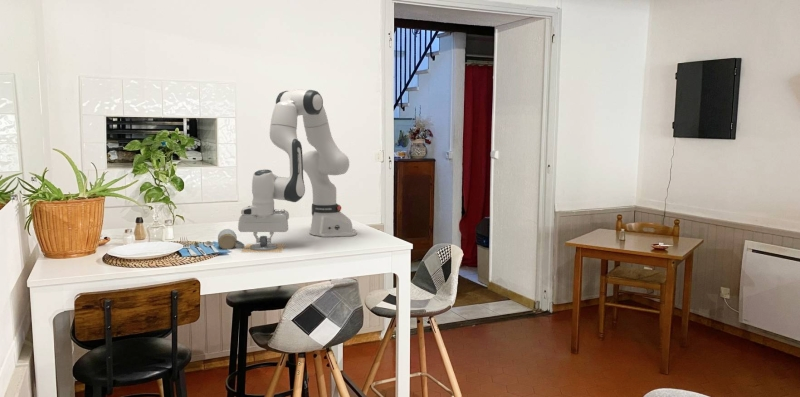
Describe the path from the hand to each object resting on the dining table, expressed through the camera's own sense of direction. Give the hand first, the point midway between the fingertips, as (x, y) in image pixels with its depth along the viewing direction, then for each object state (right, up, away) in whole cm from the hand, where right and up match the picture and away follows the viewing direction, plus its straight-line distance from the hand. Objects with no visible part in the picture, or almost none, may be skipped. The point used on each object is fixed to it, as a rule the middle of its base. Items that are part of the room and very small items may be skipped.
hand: (263, 242), depth 255 cm
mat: (0, -3, 0) cm, 3 cm away
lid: (0, -2, 0) cm, 2 cm away
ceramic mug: (-14, -3, +1) cm, 14 cm away
